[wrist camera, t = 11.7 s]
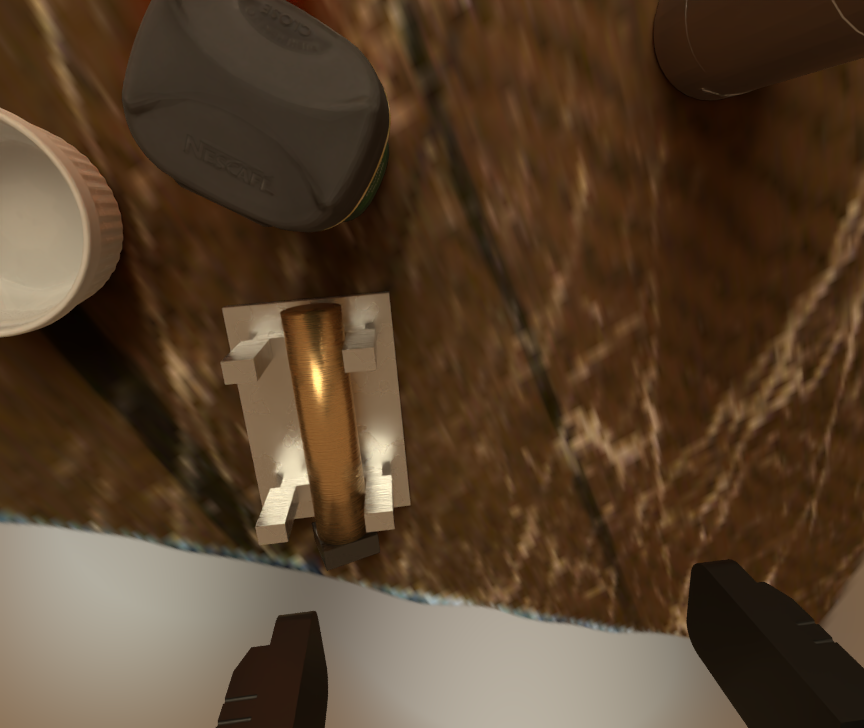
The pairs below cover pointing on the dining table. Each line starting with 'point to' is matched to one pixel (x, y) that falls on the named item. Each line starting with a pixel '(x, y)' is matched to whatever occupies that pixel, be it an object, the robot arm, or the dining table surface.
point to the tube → (328, 431)
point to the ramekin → (50, 227)
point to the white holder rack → (278, 421)
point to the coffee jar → (258, 110)
